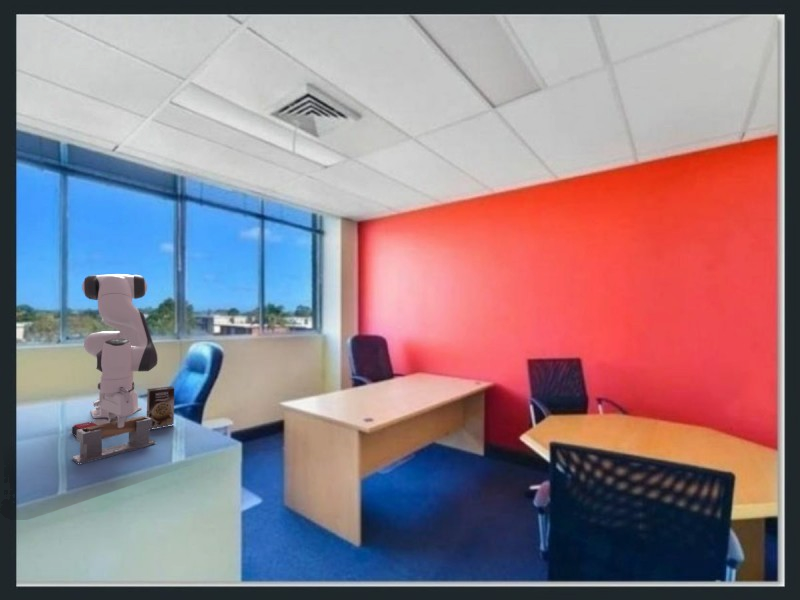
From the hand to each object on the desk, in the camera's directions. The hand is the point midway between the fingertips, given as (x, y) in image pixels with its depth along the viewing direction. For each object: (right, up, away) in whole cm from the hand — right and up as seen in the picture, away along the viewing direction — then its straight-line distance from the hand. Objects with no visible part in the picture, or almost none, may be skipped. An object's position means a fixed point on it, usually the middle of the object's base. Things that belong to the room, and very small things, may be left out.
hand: (116, 425), depth 131 cm
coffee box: (-2, -10, +27) cm, 29 cm away
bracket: (0, -9, 0) cm, 9 cm away
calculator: (-23, -10, +19) cm, 31 cm away
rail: (0, -3, 0) cm, 3 cm away
